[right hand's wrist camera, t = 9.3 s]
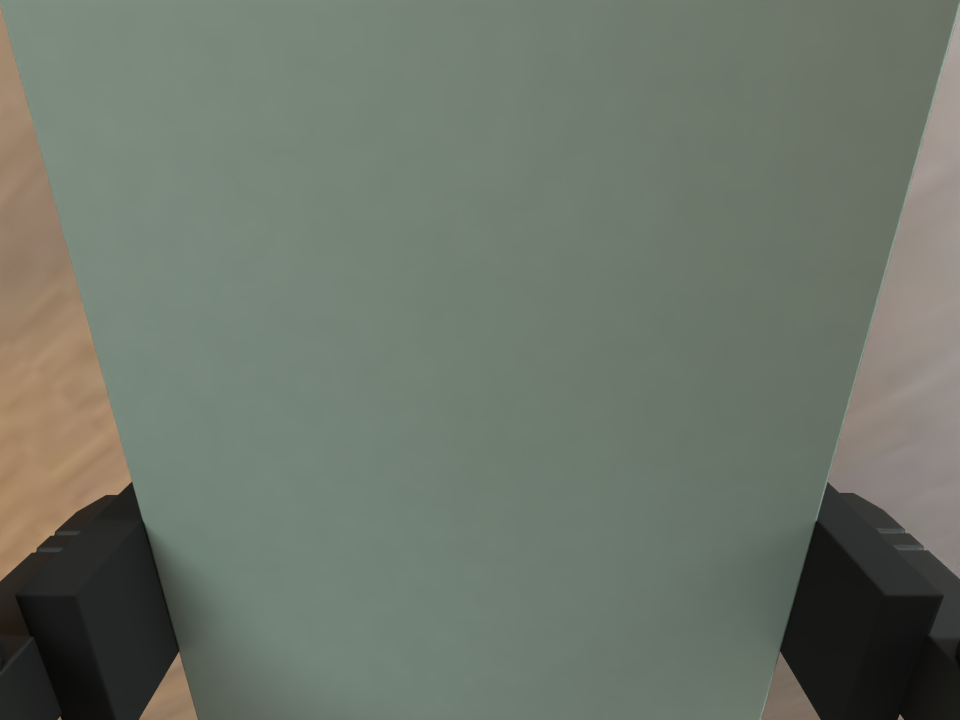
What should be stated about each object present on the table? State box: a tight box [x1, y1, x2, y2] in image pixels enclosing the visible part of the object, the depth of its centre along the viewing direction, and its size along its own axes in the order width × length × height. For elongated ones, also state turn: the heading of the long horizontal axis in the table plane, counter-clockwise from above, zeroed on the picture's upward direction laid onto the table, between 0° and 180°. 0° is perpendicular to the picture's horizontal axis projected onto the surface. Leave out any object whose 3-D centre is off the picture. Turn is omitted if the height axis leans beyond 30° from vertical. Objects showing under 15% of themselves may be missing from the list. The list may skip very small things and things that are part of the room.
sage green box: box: [0, 0, 960, 720], centre depth 13 cm, size 16×10×10 cm, turn 0°
